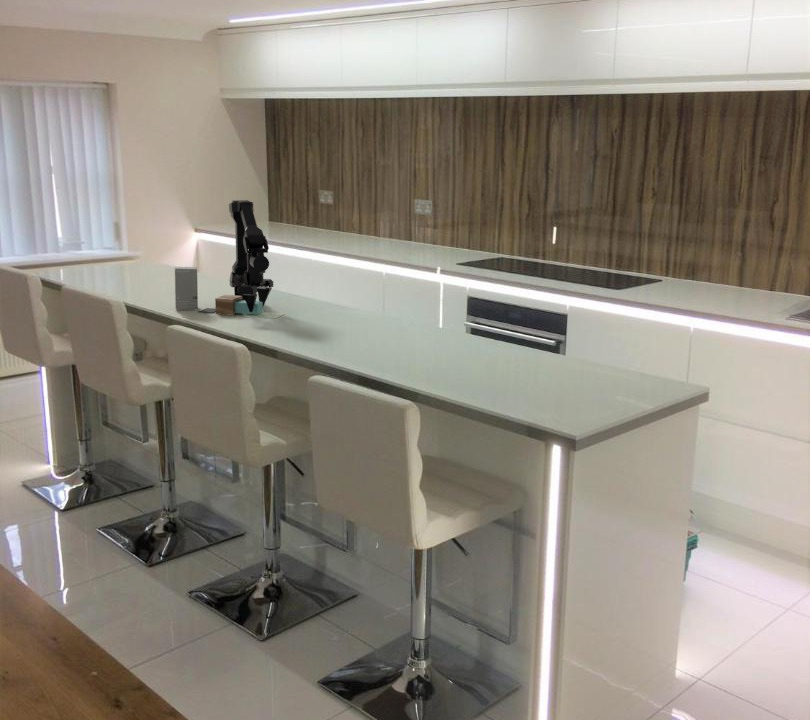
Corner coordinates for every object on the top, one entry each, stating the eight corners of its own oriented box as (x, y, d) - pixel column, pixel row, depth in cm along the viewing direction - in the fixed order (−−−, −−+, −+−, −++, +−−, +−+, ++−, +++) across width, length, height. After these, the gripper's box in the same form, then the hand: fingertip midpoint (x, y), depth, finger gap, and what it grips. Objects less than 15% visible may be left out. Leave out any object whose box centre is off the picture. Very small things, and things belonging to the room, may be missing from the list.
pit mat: (207, 308, 339) (207, 307, 339) (221, 309, 338) (221, 309, 338) (198, 312, 333) (198, 311, 333) (212, 313, 331) (212, 312, 331)
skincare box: (176, 311, 334) (173, 268, 330) (175, 307, 341) (173, 266, 337) (199, 310, 336) (197, 268, 332) (198, 306, 343) (196, 265, 339)
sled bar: (228, 309, 335) (228, 299, 334) (262, 312, 332) (262, 301, 331) (223, 312, 331) (222, 301, 330) (257, 314, 328) (257, 303, 327)
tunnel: (225, 309, 338) (225, 294, 336) (242, 311, 336) (242, 295, 334) (215, 313, 330) (215, 298, 329) (233, 315, 328) (232, 299, 327)
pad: (252, 311, 335) (252, 311, 335) (284, 314, 331) (284, 313, 331) (243, 316, 327) (243, 315, 327) (276, 318, 324) (276, 318, 324)
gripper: (246, 262, 337) (247, 303, 341) (223, 270, 319) (224, 313, 323) (273, 264, 334) (274, 305, 338) (252, 271, 316) (253, 315, 320)
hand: (256, 309), depth 330 cm, fingers open, 9 cm apart
